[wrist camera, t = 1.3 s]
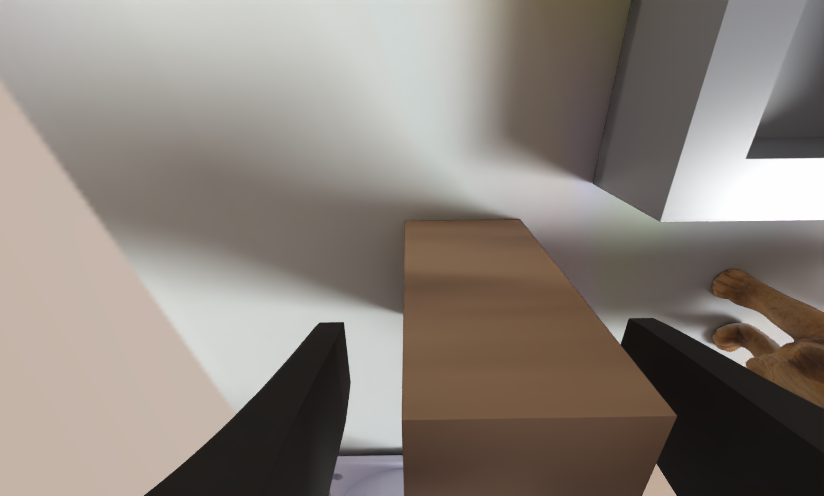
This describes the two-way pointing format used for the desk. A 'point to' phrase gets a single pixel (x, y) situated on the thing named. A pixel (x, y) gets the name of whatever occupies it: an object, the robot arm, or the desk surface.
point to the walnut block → (515, 374)
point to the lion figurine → (785, 366)
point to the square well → (718, 111)
